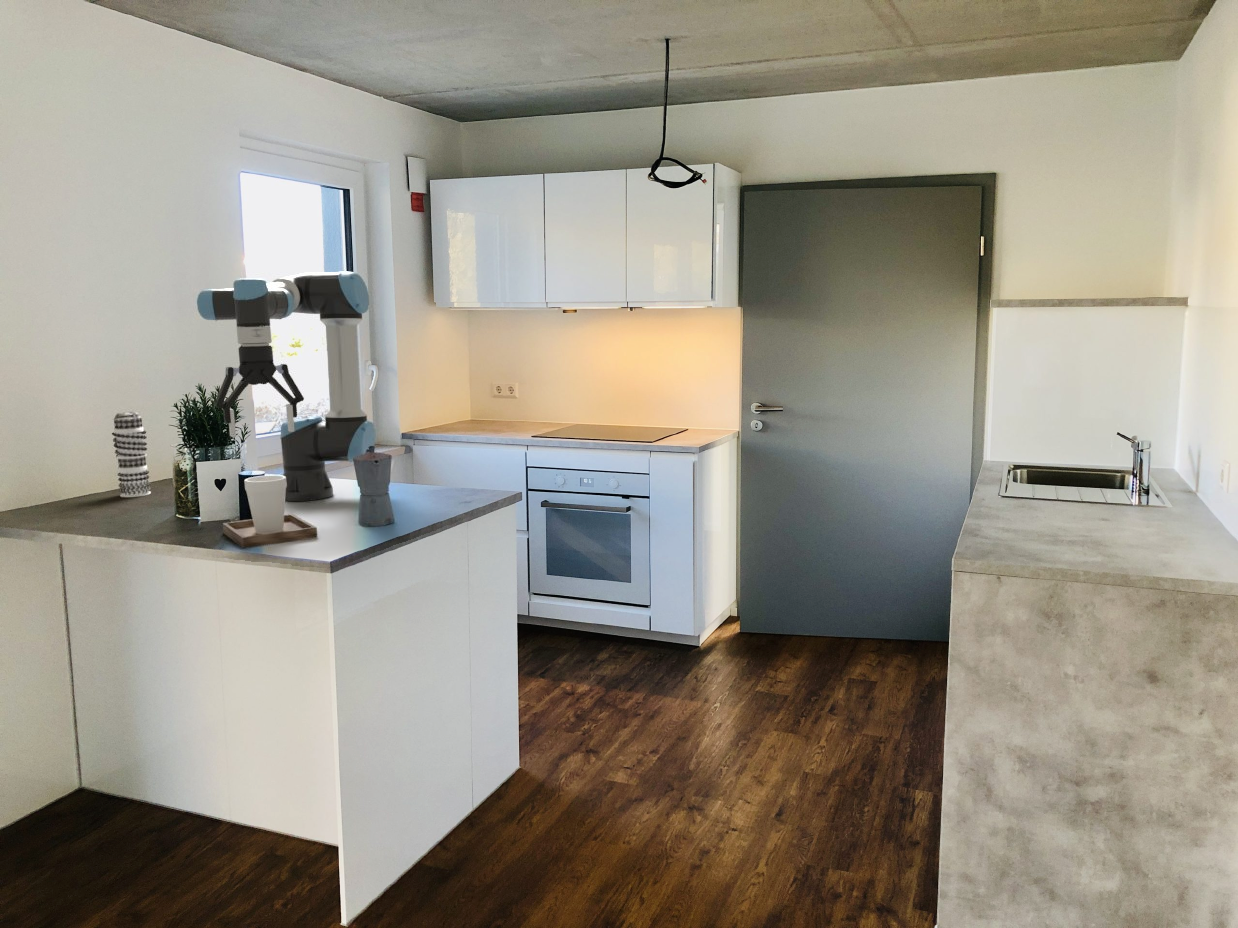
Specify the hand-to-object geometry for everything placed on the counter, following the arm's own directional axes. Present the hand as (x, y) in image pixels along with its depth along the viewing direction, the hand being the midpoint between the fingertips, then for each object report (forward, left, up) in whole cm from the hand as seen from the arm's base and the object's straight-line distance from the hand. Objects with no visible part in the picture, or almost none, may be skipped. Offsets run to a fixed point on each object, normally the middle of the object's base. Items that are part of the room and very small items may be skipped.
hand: (262, 434), depth 230 cm
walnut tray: (+1, +1, -25) cm, 25 cm away
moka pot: (-25, +4, -25) cm, 35 cm away
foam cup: (0, +1, -24) cm, 24 cm away
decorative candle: (+18, -83, -25) cm, 88 cm away
